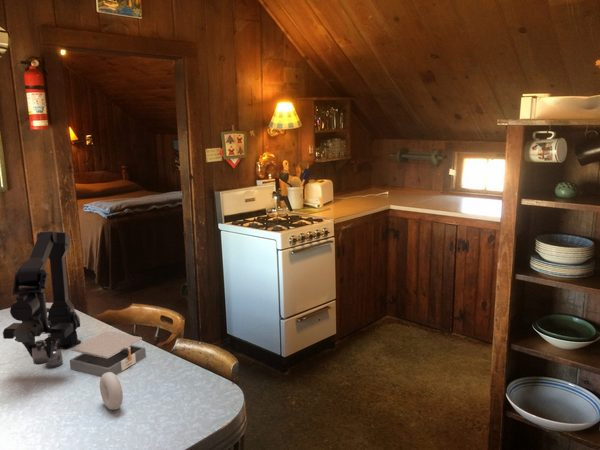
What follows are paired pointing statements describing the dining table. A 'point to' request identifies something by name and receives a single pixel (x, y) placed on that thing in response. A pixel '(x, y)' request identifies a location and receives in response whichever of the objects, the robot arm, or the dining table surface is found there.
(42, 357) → the weight
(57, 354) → the weight
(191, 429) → the dining table surface
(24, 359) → the dining table surface
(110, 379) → the donut
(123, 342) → the scale pan
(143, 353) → the scale base
